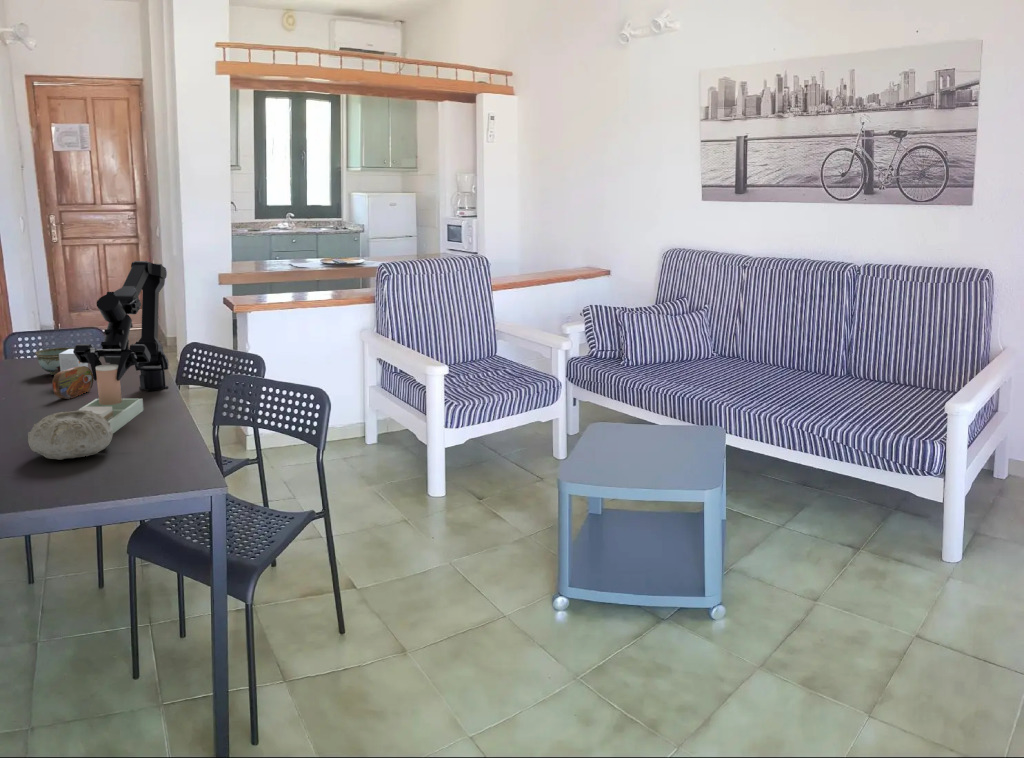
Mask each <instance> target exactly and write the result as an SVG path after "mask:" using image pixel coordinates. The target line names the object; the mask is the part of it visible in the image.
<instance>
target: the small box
mask: <svg viewBox="0 0 1024 758" xmlns="http://www.w3.org/2000/svg"><path fill="white" fill-rule="evenodd" d="M73 351H74V349H68V350H66V351H64V352H62V353H60V354H59V361H60V370H61V371H64V370H67V369H71V368H74V367H78V366H86V367H88V368H89V363H81V362H80V361H79V360H78V358H77V357H76V355H75V354H74V353H73Z"/></svg>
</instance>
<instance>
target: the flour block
mask: <svg viewBox="0 0 1024 758" xmlns="http://www.w3.org/2000/svg"><path fill="white" fill-rule="evenodd" d="M82 407H83V408H82ZM82 407H81V408H82V409H81V408H79V409H80V410H87V411H92V412H93V413H96V414H99V415H100V416H102V417H103V418H104V419H106V420H107V421H109V420H110V419H112V418H113V410H112V407H84V406H82Z"/></svg>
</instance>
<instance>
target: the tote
mask: <svg viewBox="0 0 1024 758" xmlns="http://www.w3.org/2000/svg"><path fill="white" fill-rule="evenodd" d="M83 407H112V410H113V418H112V419H110V420H109V421H108V422H110V426H111V428H112V431H113V434H114V433H116V432H118V431H119V430H120V429H121V428H122V427H124V426H125V425H127V424H128V423H129V422H130V421H132V420H133V419H134V418H136V417H137V416H139V414H140V413H142V412H144V400H143V398H122V402H121V403H118V404H113V405H101V404H99V398H95V399H93V400H91V402H89V403H87V404H86V405H83V406H82V407H80V408H79V409H78V410H80V409H82V408H83Z"/></svg>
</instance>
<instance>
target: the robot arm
mask: <svg viewBox="0 0 1024 758" xmlns="http://www.w3.org/2000/svg"><path fill="white" fill-rule="evenodd" d="M130 265H131V266H130V270H129V272H128V274H127V276H126V279H125V281H124V283H123V284H122V287H121V288H119V289H117V290H115V291H107V292H106V294H104V295H102V296H101V297H99V298H98V300H97V301H96V307H97V308H98V310H99V312H100V313H101V316H102V317H103V319H104V321H106V322H108V323H107V327H106V329H104V330H103V333H104V340H103V341H101V343H100V346H101V348H96V347H93V346H92V344H88V343H85V344H84V343H83V344H81V343H80V344H79V343H78V344H76V345H74V347H73V348H74V351H73V353H74V354H75V355H76V357H77V358H78V360H79V361H80V362H81V363H88V365H90V370H91V372H92V374H93V381H96V382H97V376H96V368H95V367H96V366H99V365H103V364H102V362H101V361H100V359H101V357H102V358H103V359H104V363H106V364H116V365H119V366H118V371H117V380H118V381H119V380H120V381H121V379H122V377H123V376H124V374H125V373H126V372H127V371H128V370H129V368H131V367H133V366H134V367H135V368H134V369H135V371H140V374H139V387H138V388H139V389H140V390H144V391H147V392H153V391H158V390H163V389H168V388H169V386H168V385H166V375H165V371H166V370H169V360H168V357H167V355H166V354H165V352H164V346H163V345H162V343H161V342H160V340H159V336H158V333H159V301H160V297H159V296H160V292H161V291H162V289H163V287H164V286H165V285H166V278H167V276H168V275H167V273H168V272H167V268H166V267H164V265H162V263H154V262H150V261H148V260H134V261H132V262H131V263H130ZM141 291H142V292H141ZM140 293H142V296H141V297H142V299H141V300H142V303H141V300H140V298H139V295H140ZM140 310H141V336H140V338H139V340H138V341H136V342H135V343H134V344H130V340H129V335H130V331H131V329H132V328H133V319H132V318H131V315H138V312H139V311H140Z"/></svg>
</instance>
